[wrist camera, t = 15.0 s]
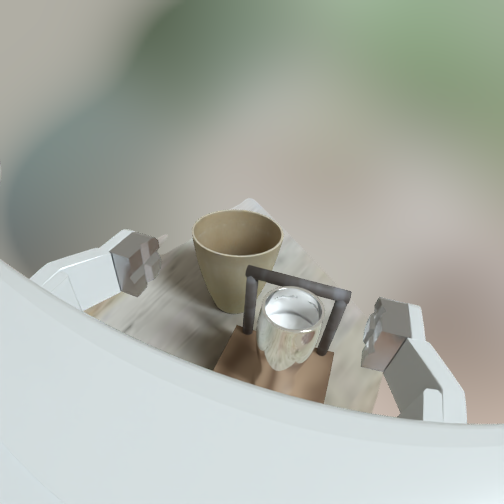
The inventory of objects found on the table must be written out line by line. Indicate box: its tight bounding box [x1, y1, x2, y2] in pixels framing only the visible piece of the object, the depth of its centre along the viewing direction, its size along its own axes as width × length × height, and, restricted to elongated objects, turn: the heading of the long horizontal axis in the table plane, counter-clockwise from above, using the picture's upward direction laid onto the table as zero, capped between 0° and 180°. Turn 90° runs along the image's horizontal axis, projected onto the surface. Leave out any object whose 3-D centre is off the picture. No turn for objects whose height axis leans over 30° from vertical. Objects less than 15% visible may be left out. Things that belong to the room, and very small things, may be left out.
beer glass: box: [253, 286, 325, 395], centre depth 33 cm, size 7×7×15 cm
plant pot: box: [192, 210, 284, 314], centre depth 52 cm, size 15×15×16 cm
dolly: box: [213, 265, 351, 404], centre depth 37 cm, size 16×13×17 cm
